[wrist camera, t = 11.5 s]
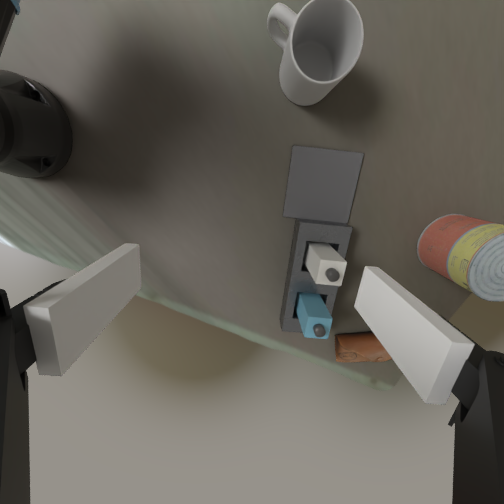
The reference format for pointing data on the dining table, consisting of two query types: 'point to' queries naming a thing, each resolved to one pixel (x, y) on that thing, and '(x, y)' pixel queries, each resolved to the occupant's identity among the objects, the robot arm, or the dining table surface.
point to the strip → (299, 274)
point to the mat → (321, 184)
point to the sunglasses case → (360, 348)
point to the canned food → (466, 253)
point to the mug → (316, 47)
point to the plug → (313, 315)
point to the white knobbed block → (324, 263)
